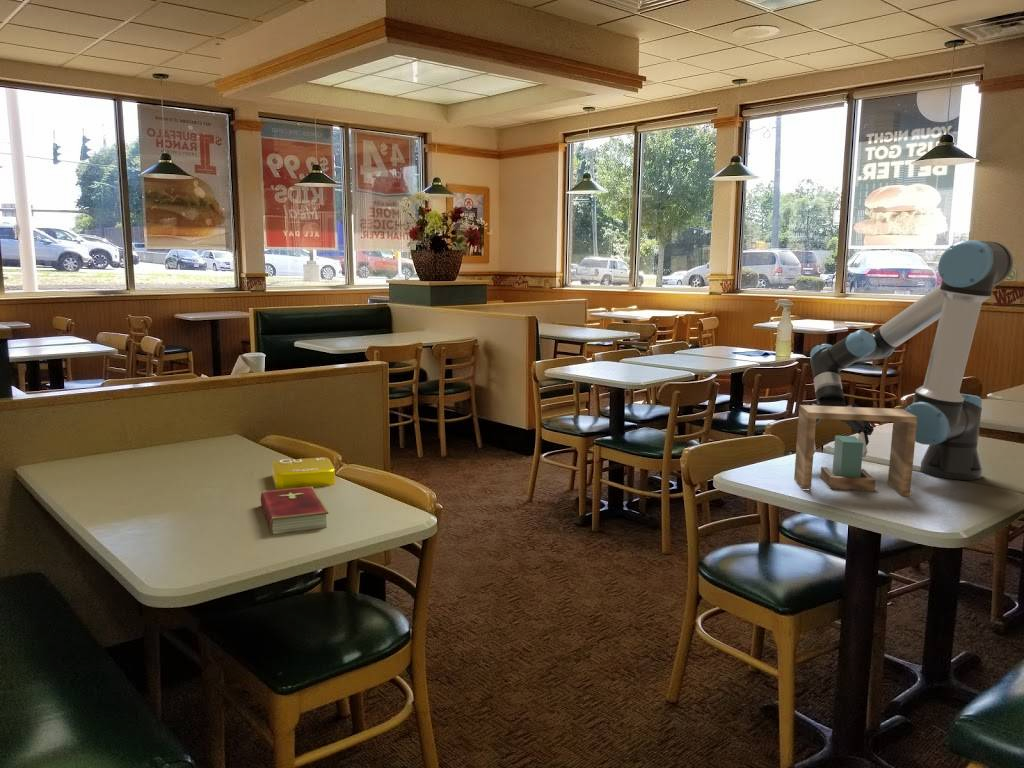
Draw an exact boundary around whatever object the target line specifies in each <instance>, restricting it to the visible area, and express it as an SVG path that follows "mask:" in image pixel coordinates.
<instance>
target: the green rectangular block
mask: <svg viewBox="0 0 1024 768" xmlns="http://www.w3.org/2000/svg"><path fill="white" fill-rule="evenodd" d="M862 453H863V442H861V441H860V440H859V438H857V437H856V436H852V435H834V448H833V461H832V471H831V472H832V473H833V474H834V475H835V476H843V477H861V469H862V463H863V457H862Z"/></svg>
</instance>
